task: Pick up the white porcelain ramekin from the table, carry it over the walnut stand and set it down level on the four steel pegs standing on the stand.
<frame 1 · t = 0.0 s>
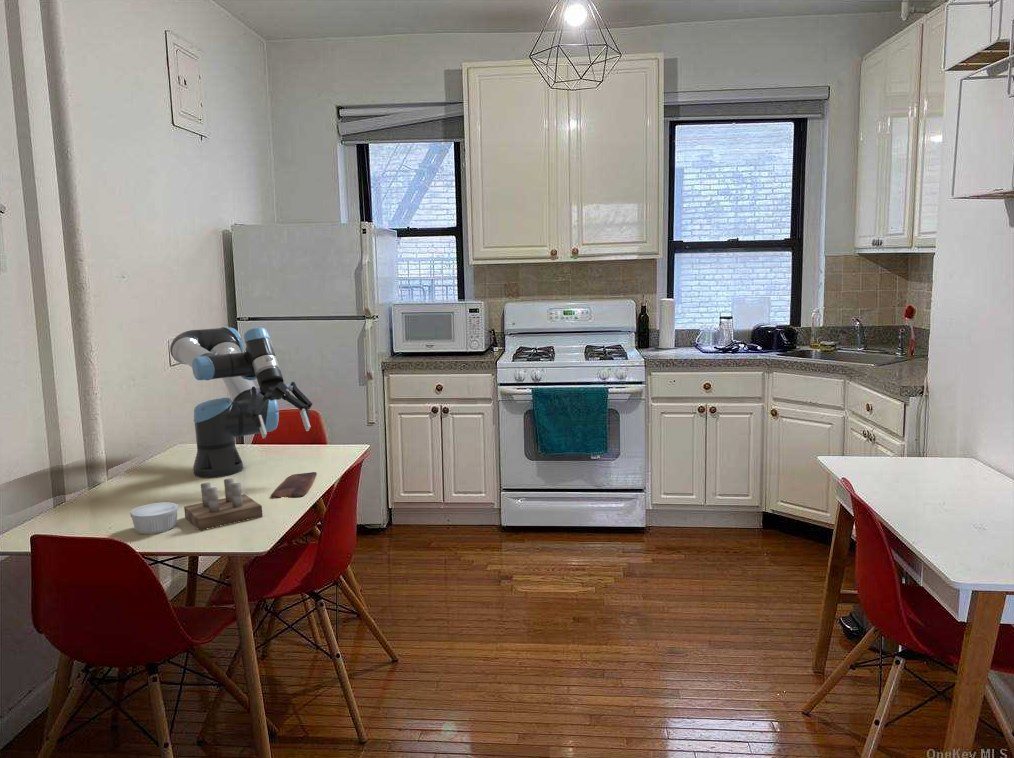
hand: (287, 432, 234), 15 cm above the table, tool tilted 35°, fingers open, 13 cm apart
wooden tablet: (297, 487, 232), on the table
peg stand: (223, 517, 204), on the table
ramekin: (156, 529, 197), on the table
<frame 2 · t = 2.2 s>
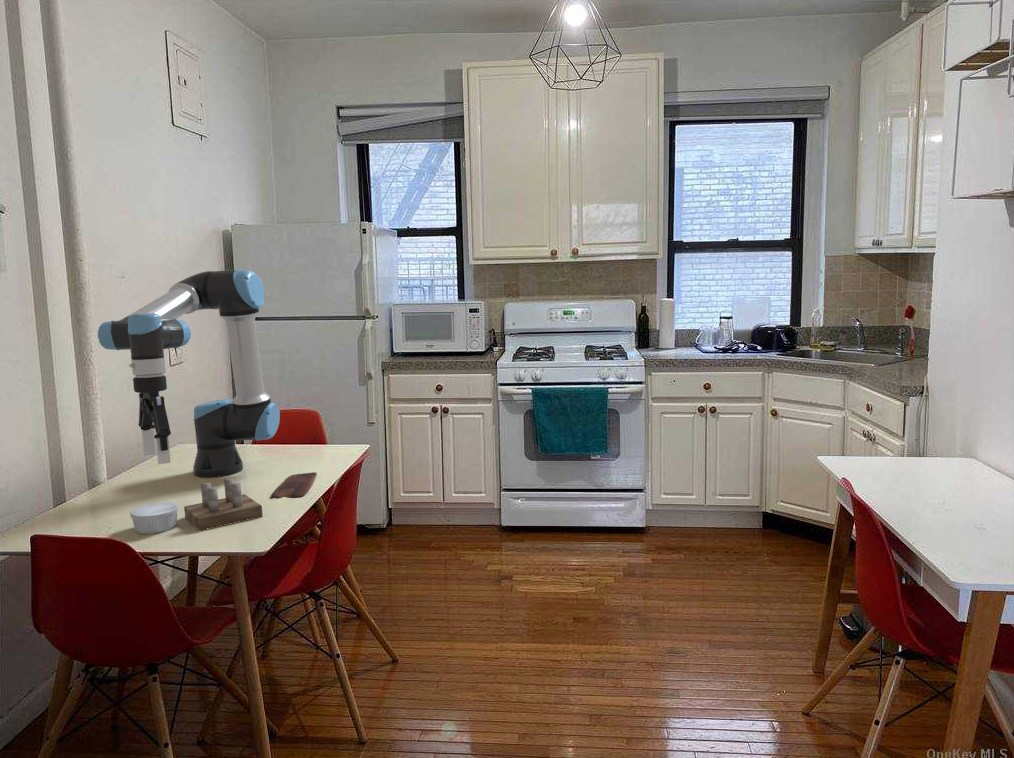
hand: (156, 459, 195), 18 cm above the table, tool pointing down, fingers open, 13 cm apart
nothing on the table moved.
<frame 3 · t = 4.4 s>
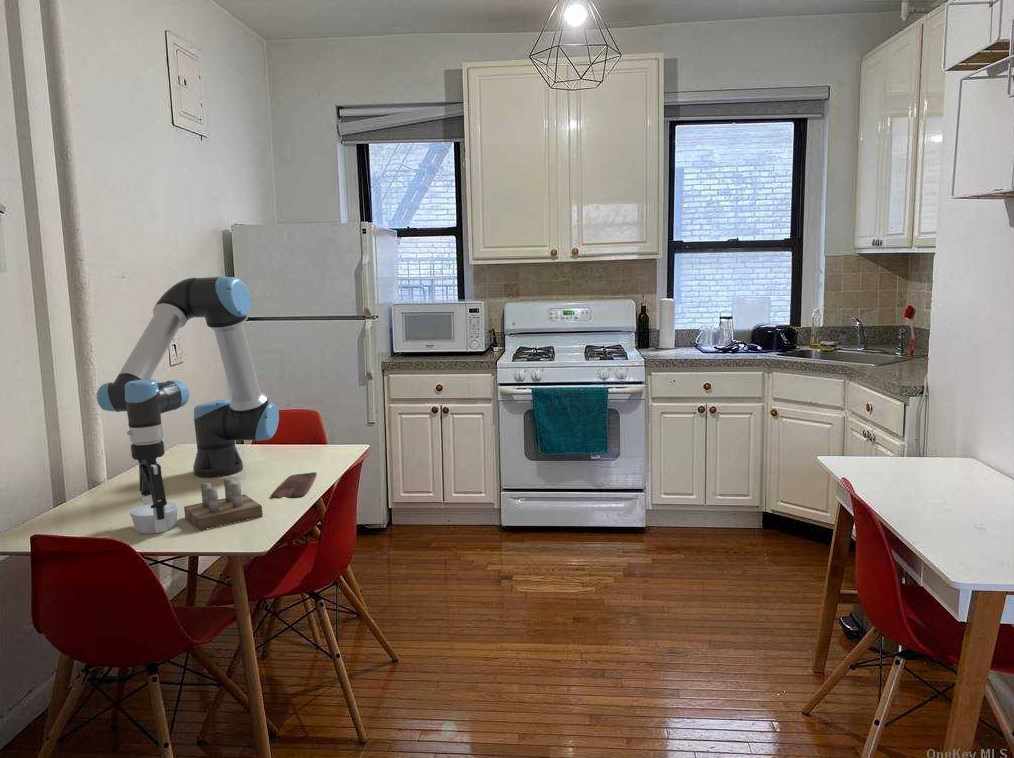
hand: (155, 525, 196), 1 cm above the table, tool pointing down, fingers closed on ramekin, 11 cm apart
ramekin: (156, 529, 197), on the table, touching gripper
everything else where it was.
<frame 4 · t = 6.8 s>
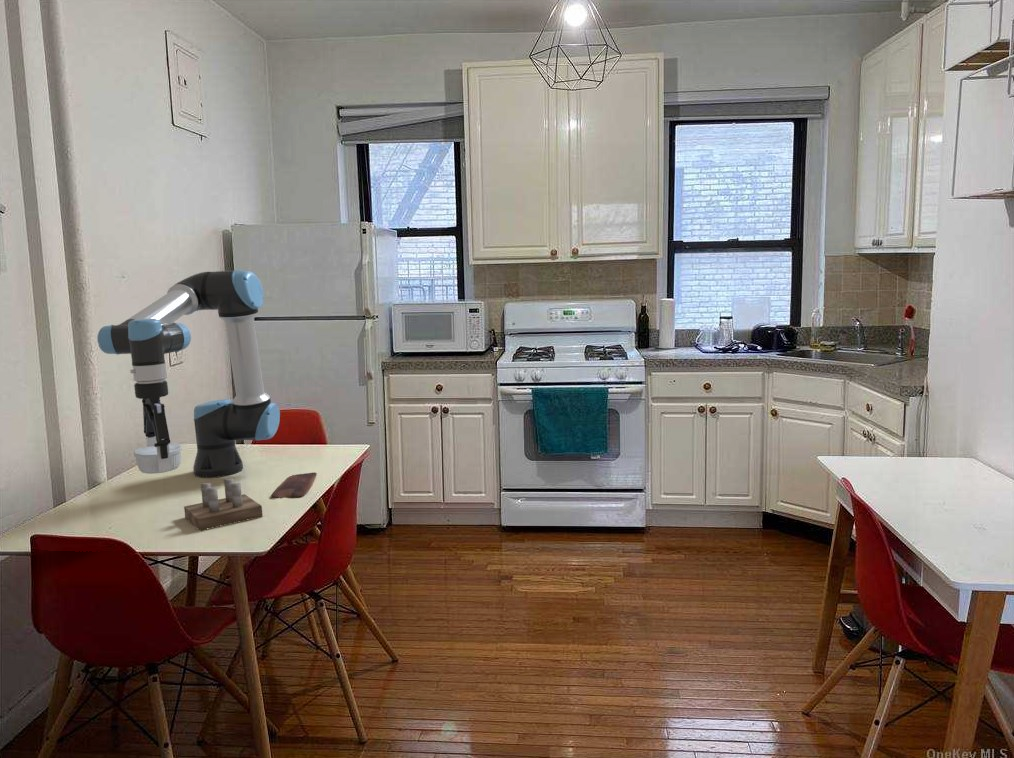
hand: (159, 466, 195), 16 cm above the table, tool pointing down, fingers closed on ramekin, 11 cm apart
ramekin: (160, 469, 196), point 15 cm above the table, touching gripper
everything else where it was.
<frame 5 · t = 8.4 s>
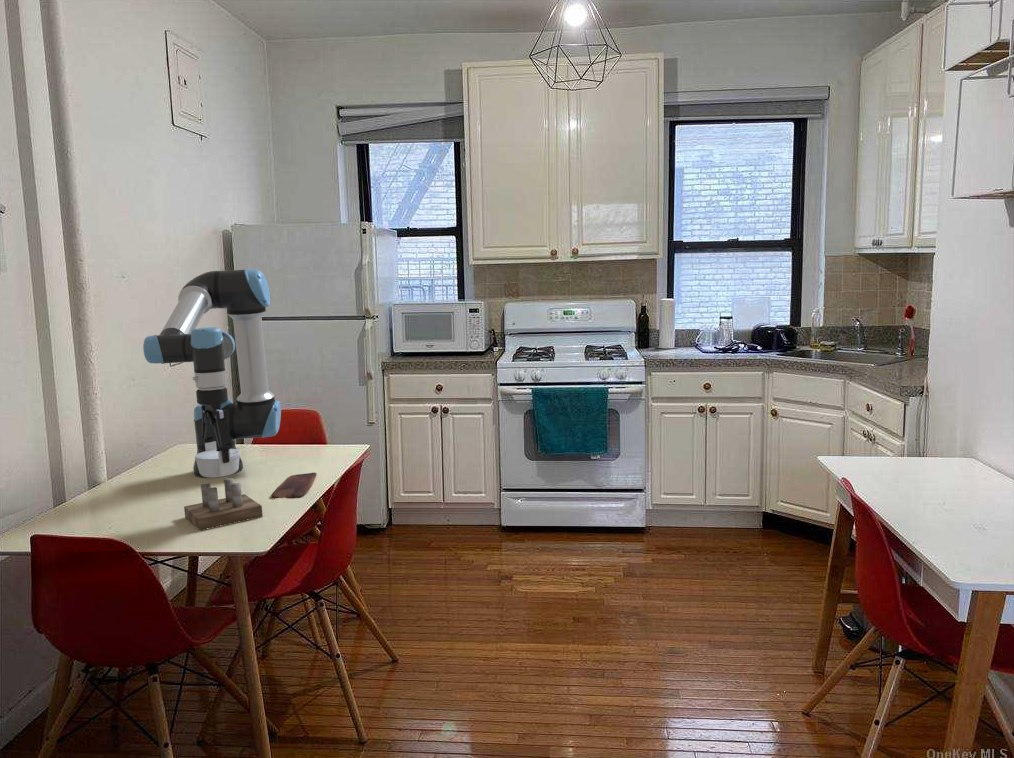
hand: (219, 470, 202), 13 cm above the table, tool pointing down, fingers closed on ramekin, 11 cm apart
ramekin: (219, 473, 202), point 12 cm above the table, touching gripper
everything else where it was.
when the fingers open (11 cm above the table, at t = 9.4 s): ramekin drops 1 cm, resting on peg stand.
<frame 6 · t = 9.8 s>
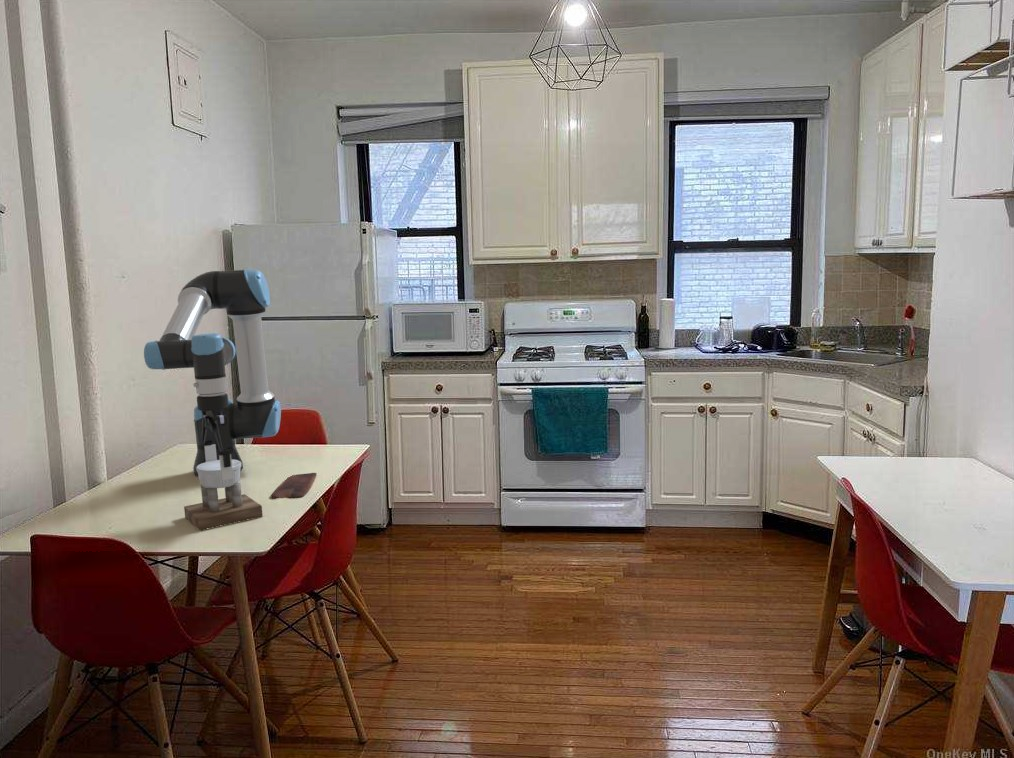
hand: (219, 474, 202), 12 cm above the table, tool pointing down, fingers open, 13 cm apart
ramekin: (220, 484, 202), point 9 cm above the table, touching peg stand
everything else where it was.
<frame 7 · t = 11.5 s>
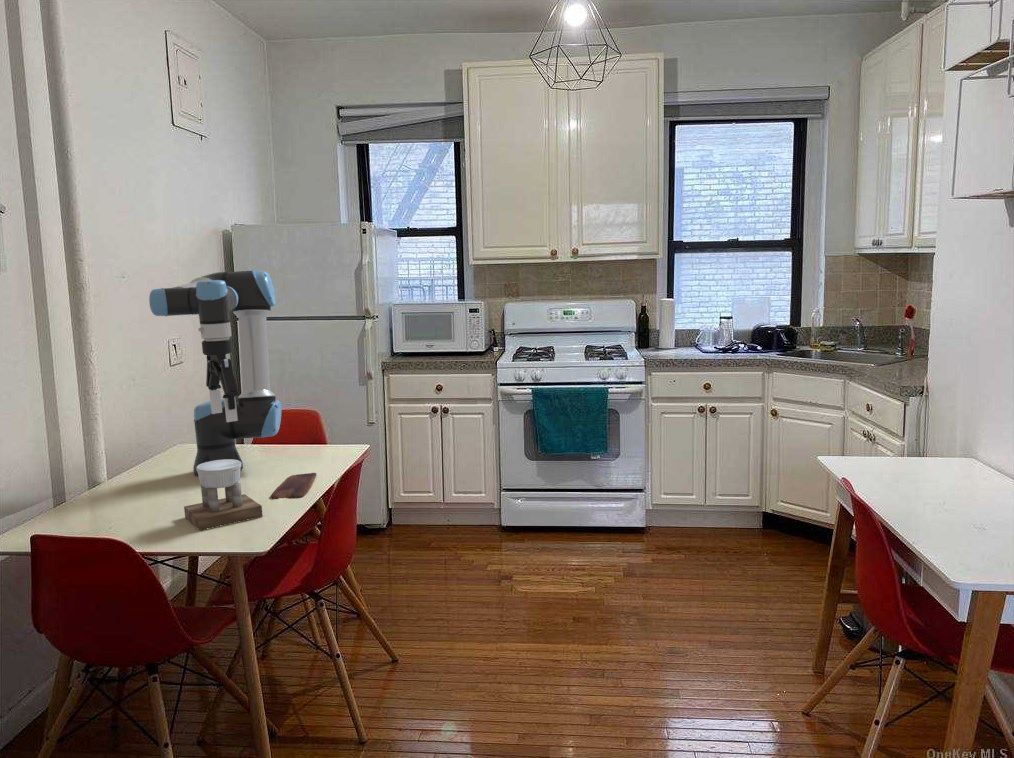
hand: (224, 417, 208), 25 cm above the table, tool pointing down, fingers open, 13 cm apart
nothing on the table moved.
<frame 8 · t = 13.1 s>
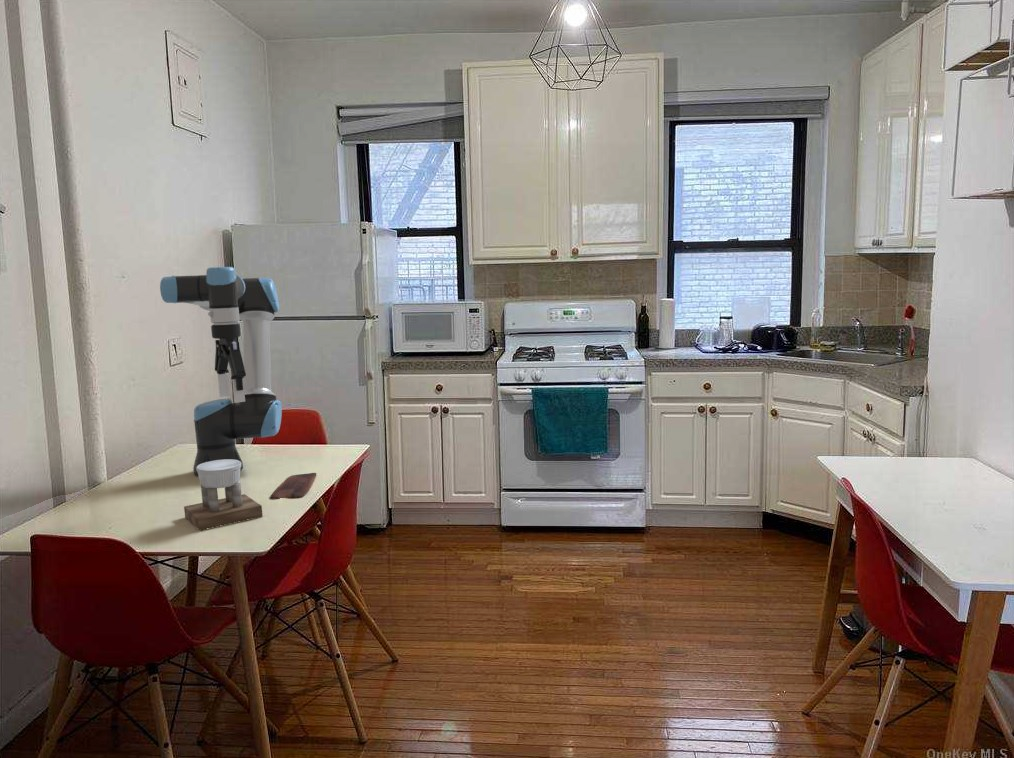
hand: (232, 399, 216), 29 cm above the table, tool pointing down, fingers open, 13 cm apart
nothing on the table moved.
at the end: ramekin 0.1 cm off-centre on the peg stand, point 8.8 cm above the peg stand's base; ramekin tilted 0°; the gripper is holding nothing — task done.
